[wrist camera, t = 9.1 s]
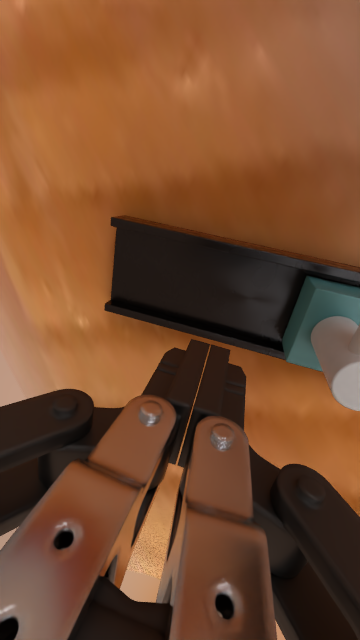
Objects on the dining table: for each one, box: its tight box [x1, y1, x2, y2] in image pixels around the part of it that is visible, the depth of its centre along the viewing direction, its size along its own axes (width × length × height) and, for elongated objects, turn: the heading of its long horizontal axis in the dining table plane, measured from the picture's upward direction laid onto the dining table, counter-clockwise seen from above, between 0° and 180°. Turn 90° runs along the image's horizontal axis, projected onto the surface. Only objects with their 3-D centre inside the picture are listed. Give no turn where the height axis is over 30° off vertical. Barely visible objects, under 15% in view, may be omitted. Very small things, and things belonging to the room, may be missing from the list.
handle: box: [282, 276, 360, 411], centre depth 15 cm, size 8×4×8 cm, turn 170°
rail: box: [105, 215, 360, 360], centre depth 20 cm, size 7×21×3 cm, turn 80°
